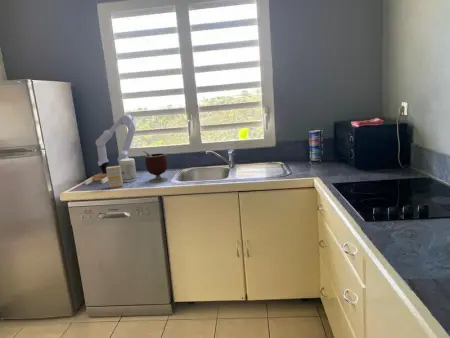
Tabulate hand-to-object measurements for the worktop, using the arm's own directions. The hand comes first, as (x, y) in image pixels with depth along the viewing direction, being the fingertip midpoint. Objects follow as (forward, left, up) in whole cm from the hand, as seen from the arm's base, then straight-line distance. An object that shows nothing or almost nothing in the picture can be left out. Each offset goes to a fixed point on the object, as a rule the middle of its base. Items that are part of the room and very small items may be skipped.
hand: (105, 173), depth 257 cm
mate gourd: (-43, +20, -3) cm, 48 cm away
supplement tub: (-23, +16, -3) cm, 28 cm away
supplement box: (-19, +31, -3) cm, 37 cm away
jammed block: (0, +8, -3) cm, 8 cm away
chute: (0, +12, -3) cm, 12 cm away
